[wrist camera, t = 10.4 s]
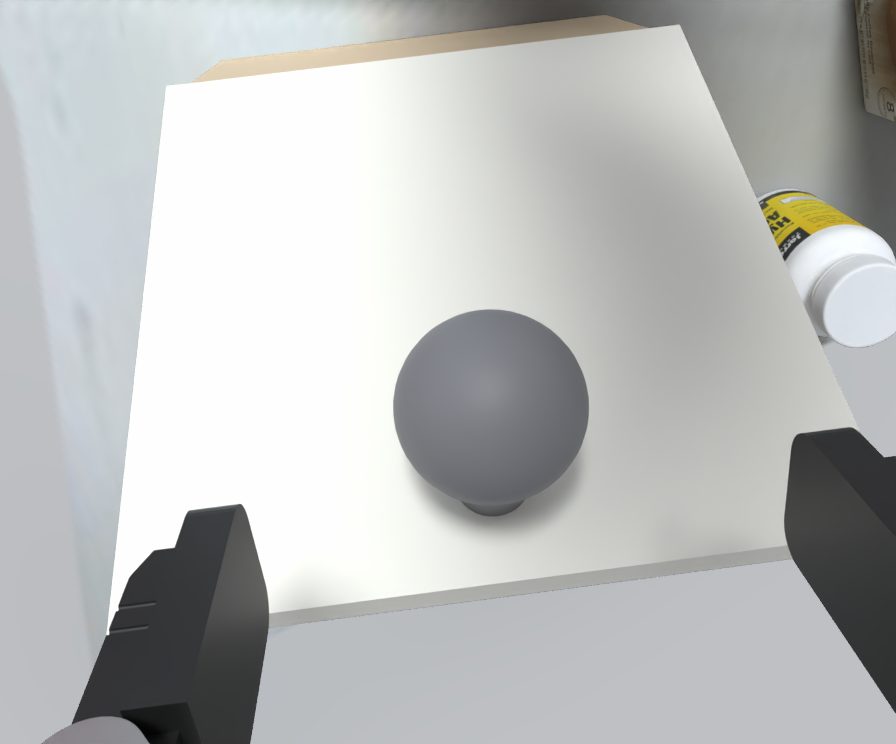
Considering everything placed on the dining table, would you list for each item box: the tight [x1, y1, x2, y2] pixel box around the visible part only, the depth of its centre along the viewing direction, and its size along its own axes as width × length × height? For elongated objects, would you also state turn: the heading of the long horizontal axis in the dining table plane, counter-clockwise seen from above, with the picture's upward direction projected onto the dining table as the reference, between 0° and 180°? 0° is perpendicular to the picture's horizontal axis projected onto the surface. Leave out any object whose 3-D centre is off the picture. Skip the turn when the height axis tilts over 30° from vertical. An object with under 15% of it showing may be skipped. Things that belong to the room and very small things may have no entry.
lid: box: [107, 25, 860, 635], centre depth 22 cm, size 19×18×6 cm
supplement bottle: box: [757, 189, 896, 348], centre depth 41 cm, size 5×5×10 cm
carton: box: [192, 15, 647, 83], centre depth 39 cm, size 19×18×10 cm
